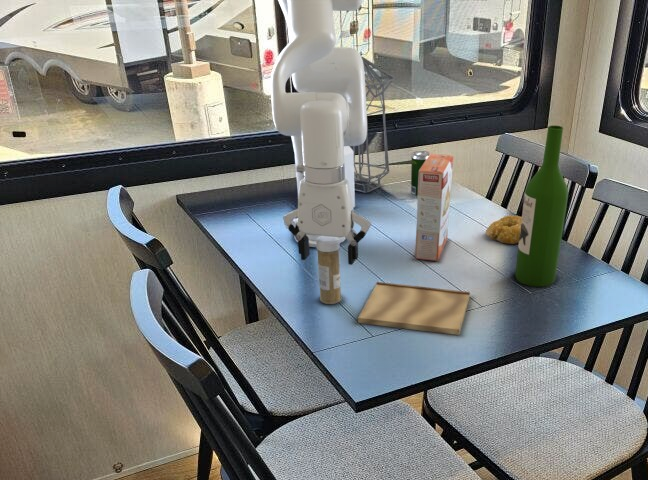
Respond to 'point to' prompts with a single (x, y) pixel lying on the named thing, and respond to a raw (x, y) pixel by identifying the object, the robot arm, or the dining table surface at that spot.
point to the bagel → (505, 229)
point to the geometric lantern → (392, 78)
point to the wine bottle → (543, 218)
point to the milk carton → (349, 170)
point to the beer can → (417, 169)
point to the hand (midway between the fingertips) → (328, 259)
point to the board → (415, 308)
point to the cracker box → (433, 206)
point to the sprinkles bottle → (329, 269)
